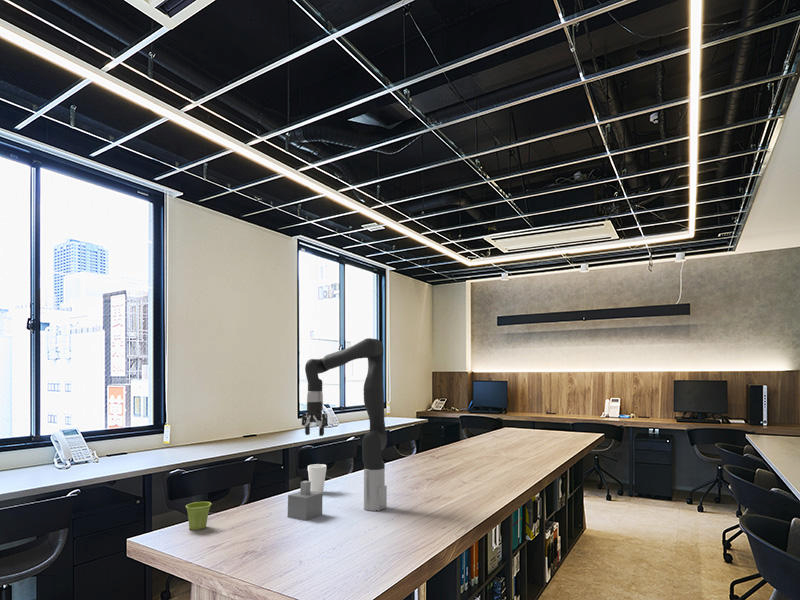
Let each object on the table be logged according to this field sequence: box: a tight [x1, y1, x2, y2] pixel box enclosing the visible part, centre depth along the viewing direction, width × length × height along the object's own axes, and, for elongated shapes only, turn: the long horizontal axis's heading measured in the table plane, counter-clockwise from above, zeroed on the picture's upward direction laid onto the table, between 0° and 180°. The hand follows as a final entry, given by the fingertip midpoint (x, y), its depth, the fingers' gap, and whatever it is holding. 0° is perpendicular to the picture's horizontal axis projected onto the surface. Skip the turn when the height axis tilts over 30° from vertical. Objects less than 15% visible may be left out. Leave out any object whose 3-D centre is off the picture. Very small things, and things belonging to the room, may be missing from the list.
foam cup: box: [307, 463, 327, 494], centre depth 255 cm, size 10×9×13 cm
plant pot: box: [185, 501, 212, 531], centre depth 198 cm, size 9×9×9 cm
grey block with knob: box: [287, 480, 324, 521], centre depth 214 cm, size 10×10×14 cm
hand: (314, 435), depth 241 cm, fingers open, 8 cm apart
